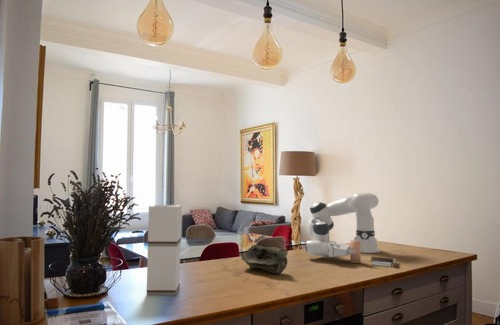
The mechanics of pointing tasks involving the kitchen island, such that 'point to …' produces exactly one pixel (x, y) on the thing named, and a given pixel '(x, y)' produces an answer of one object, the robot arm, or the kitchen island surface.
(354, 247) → the terracotta jar
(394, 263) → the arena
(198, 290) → the kitchen island surface
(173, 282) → the white banded pillar
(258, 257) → the hollow geode rock
